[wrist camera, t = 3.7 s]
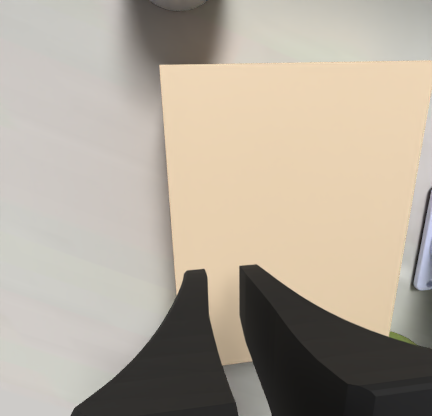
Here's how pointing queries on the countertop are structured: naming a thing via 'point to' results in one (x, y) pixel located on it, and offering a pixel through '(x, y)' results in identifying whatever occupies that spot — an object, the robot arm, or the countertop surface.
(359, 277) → the box lid
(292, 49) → the countertop surface
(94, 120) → the countertop surface
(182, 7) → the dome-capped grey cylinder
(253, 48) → the countertop surface
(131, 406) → the robot arm
